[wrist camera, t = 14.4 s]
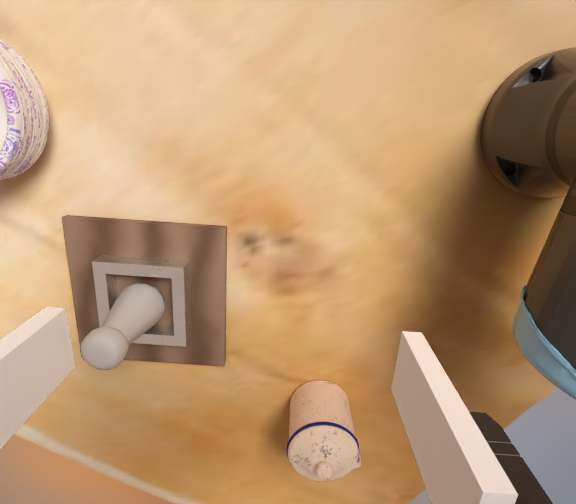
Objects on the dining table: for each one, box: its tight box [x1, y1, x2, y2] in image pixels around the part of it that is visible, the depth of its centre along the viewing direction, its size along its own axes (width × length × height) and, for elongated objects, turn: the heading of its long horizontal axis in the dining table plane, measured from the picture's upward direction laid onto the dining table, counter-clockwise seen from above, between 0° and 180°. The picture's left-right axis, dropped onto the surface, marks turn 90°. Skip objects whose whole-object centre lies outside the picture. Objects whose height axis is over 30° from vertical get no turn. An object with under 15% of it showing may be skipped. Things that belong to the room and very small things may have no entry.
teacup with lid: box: [287, 380, 361, 481], centre depth 49 cm, size 12×9×12 cm
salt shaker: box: [80, 282, 165, 370], centre depth 42 cm, size 6×6×13 cm
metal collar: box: [92, 254, 191, 347], centre depth 47 cm, size 11×11×2 cm
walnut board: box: [62, 215, 227, 366], centre depth 49 cm, size 20×20×1 cm
